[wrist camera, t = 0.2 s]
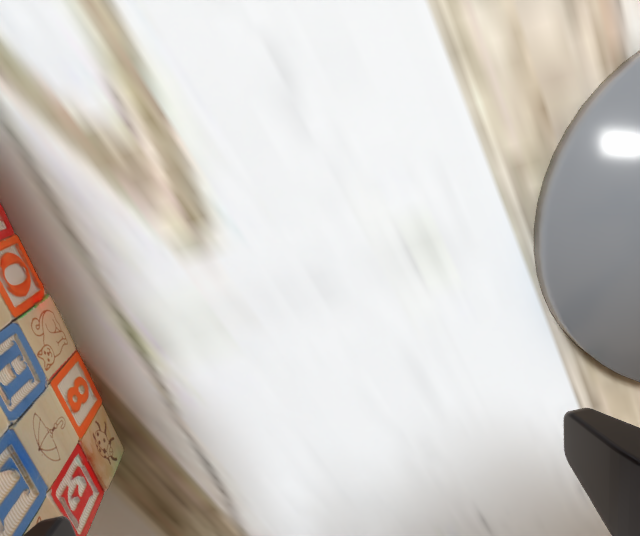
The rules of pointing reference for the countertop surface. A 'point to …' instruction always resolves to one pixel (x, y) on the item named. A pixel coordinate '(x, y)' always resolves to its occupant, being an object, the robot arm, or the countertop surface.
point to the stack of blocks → (46, 408)
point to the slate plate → (596, 225)
